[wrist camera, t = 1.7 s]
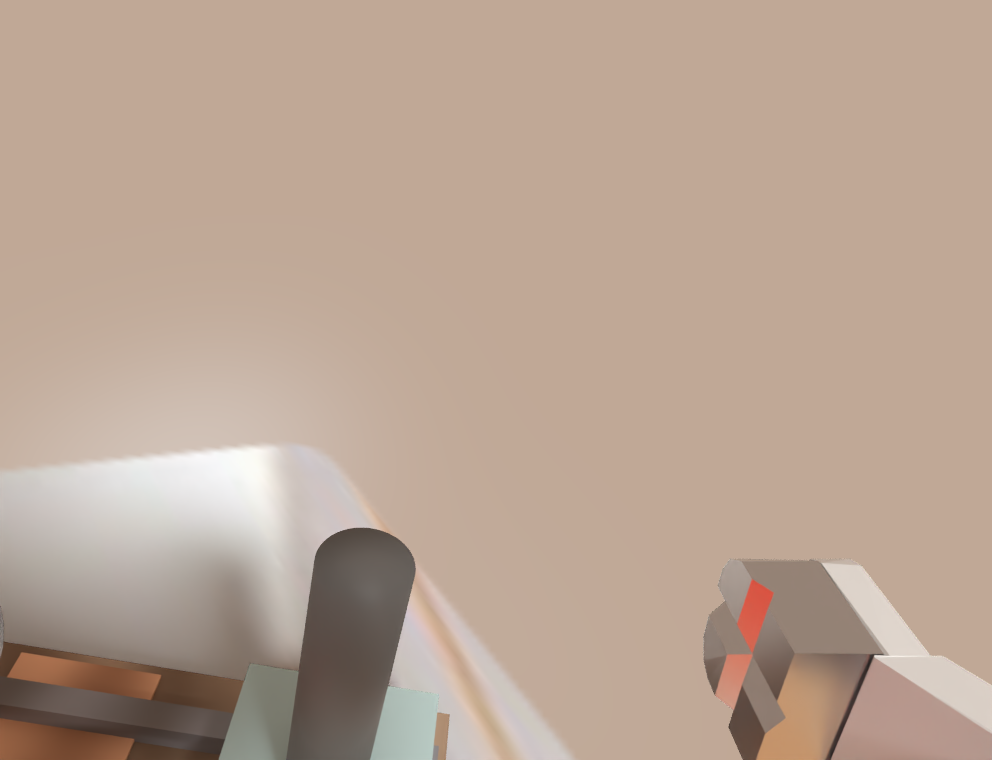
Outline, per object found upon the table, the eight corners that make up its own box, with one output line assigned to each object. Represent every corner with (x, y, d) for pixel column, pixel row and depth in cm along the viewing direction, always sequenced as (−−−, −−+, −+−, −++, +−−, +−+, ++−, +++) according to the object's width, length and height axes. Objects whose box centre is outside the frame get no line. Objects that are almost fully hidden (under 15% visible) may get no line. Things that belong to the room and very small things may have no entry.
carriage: (174, 920, 29) (178, 670, 21) (247, 691, 37) (269, 444, 29) (405, 951, 30) (490, 721, 22) (430, 721, 37) (501, 487, 29)
